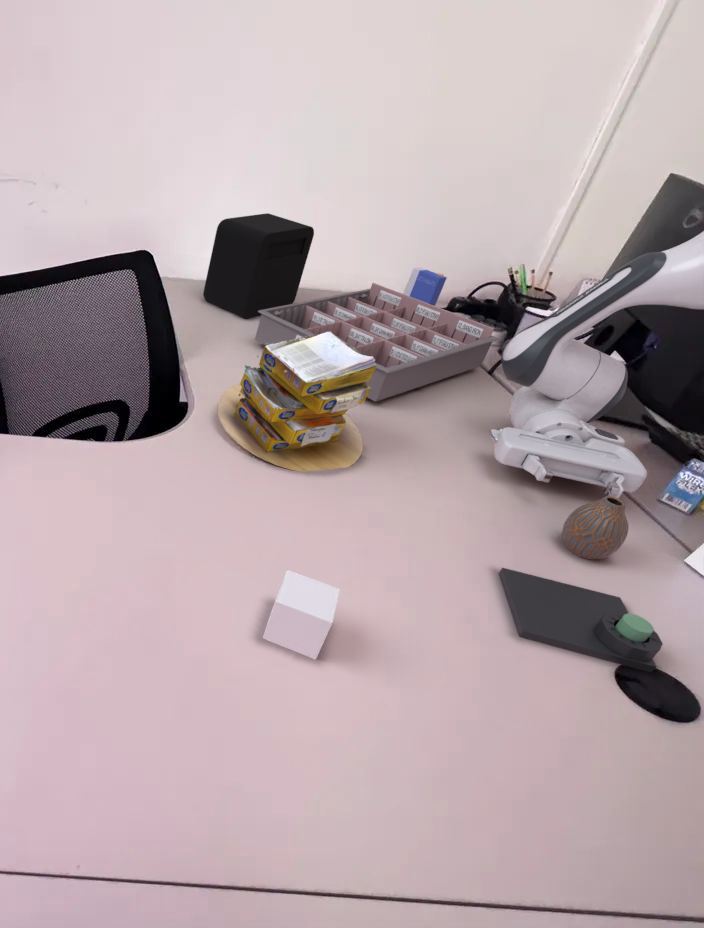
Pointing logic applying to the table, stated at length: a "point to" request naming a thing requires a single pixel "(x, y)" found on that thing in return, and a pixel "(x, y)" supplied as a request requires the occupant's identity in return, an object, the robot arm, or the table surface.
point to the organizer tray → (386, 335)
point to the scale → (574, 620)
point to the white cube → (302, 614)
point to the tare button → (634, 628)
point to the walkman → (425, 285)
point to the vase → (596, 528)
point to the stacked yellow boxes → (300, 404)
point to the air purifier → (256, 263)
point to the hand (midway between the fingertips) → (580, 485)
